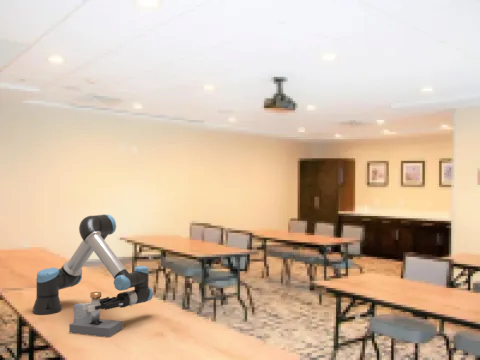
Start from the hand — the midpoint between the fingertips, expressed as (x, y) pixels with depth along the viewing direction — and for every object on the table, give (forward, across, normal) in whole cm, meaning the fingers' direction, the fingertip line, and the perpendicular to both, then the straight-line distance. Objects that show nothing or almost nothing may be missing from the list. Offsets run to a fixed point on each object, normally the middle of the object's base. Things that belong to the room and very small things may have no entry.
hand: (85, 308), depth 214 cm
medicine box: (-10, +19, -13) cm, 25 cm away
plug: (-5, 0, -10) cm, 11 cm away
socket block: (-6, 0, -12) cm, 13 cm away
